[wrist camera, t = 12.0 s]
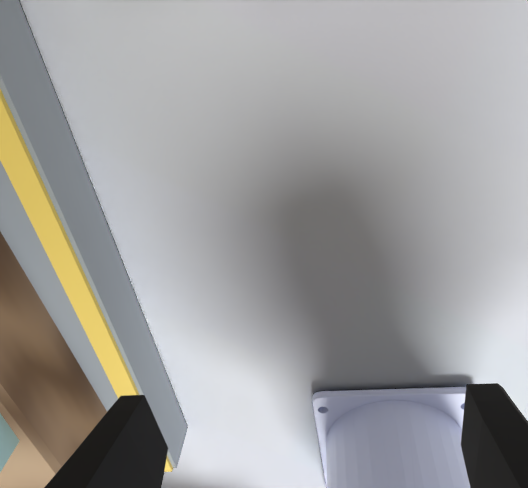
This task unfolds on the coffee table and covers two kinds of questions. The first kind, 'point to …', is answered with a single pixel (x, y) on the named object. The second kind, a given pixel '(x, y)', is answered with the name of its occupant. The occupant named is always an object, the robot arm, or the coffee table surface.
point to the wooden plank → (38, 384)
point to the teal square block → (6, 442)
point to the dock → (71, 238)
